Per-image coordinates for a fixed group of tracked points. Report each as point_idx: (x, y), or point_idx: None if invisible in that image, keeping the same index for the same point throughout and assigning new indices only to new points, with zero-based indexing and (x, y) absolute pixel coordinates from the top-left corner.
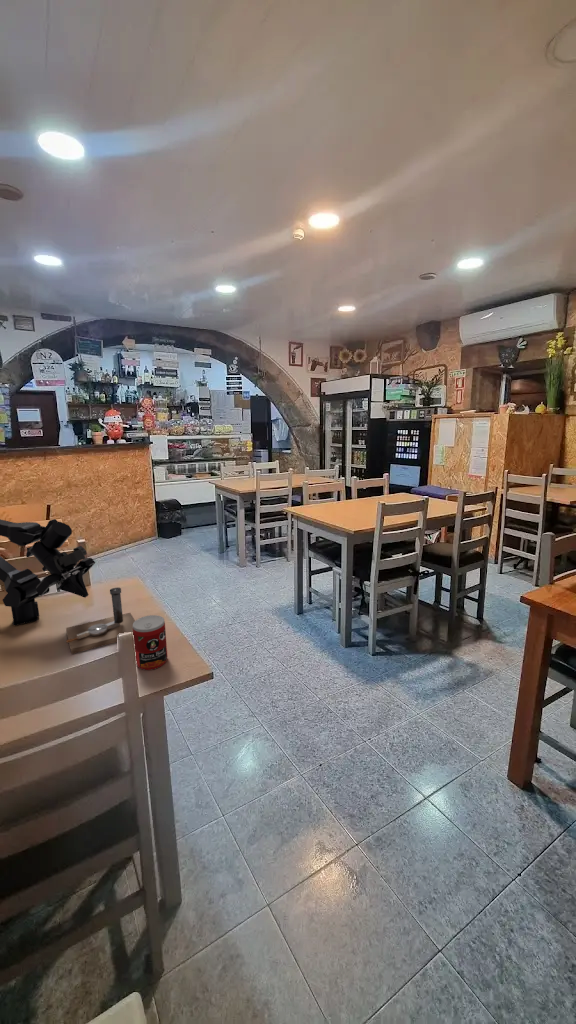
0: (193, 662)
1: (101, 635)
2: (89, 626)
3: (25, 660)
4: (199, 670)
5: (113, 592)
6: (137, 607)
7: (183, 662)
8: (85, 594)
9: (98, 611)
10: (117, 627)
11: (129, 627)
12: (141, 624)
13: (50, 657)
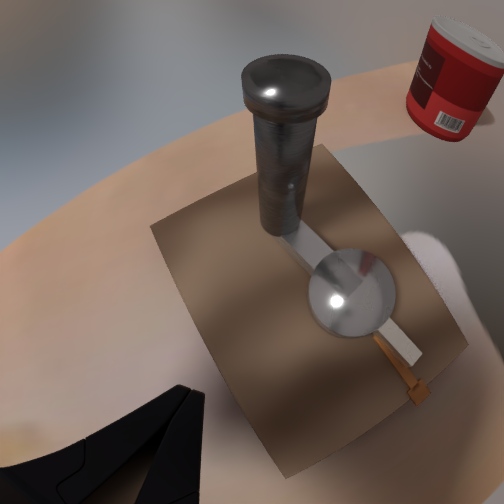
0: (412, 66)
1: None
2: (281, 370)
3: (474, 476)
4: None
5: (328, 83)
6: (79, 239)
7: None
8: (203, 404)
9: (80, 394)
10: None
11: None
12: (484, 50)
13: (470, 410)
